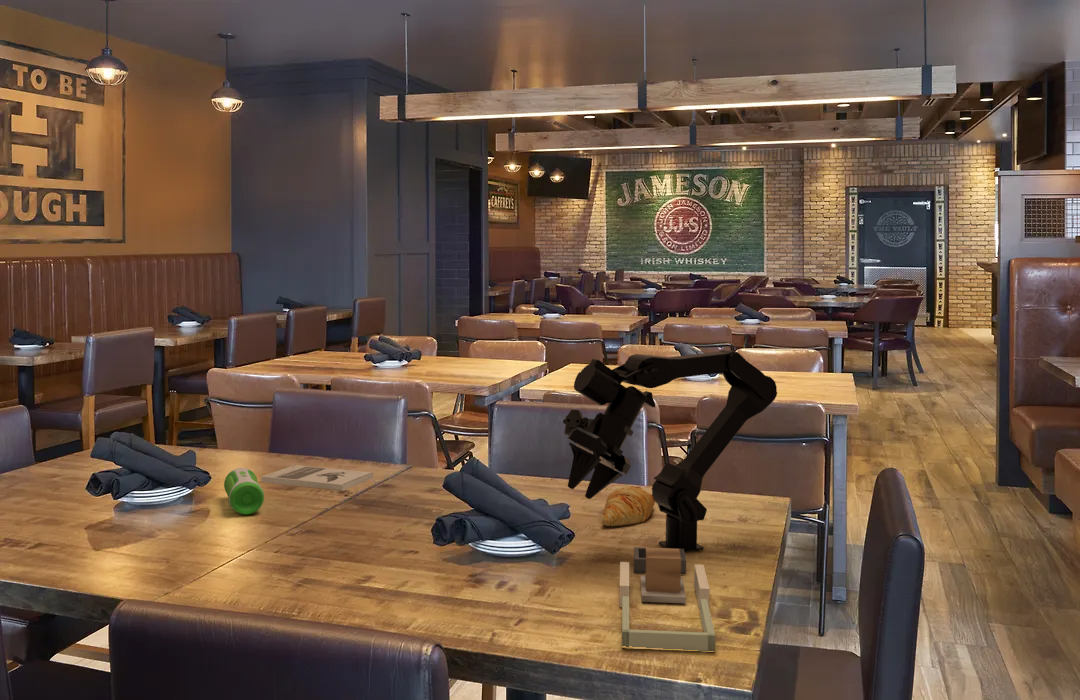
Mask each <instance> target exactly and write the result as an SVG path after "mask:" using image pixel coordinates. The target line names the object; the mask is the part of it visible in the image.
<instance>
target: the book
mask: <svg viewBox="0 0 1080 700" xmlns="http://www.w3.org/2000/svg"><path fill="white" fill-rule="evenodd" d="M371 478H373V479H374V472H369V471H358V470H350V469H348V470H347V469H340V468H339V469H338V468H330V467H329V468H328V467H321V466H320V467H319V466H308V465H307V466H306V465H297V464H295V465H291V466H287V467H286V468H285V467H284V468H282V469H280V470H279V469H278V470H276V471H273V472H270V473H267V474H264V475H261V477H260V480H261V481H260V482H261V483H265V484H267V483H268V484H276V485H284V486H285V485H286V486H294V487H304V488H313V489H322V490H323V489H324V490H332V491H343V492H344V491H345V490H348V489H350V487H351V488H353V487H355V485H356V486H358V485H360V484H359V483H361V484H363V483H365V482H364V481H366V482H368V481H370V480H369V479H371ZM367 480H368V481H367ZM371 480H372V479H371ZM362 482H363V483H362ZM357 484H358V485H357Z"/></svg>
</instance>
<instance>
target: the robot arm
mask: <svg viewBox="0 0 1080 700" xmlns="http://www.w3.org/2000/svg"><path fill="white" fill-rule="evenodd" d="M714 374H722V376H723V378H724V380H725V381H726V383H727V384H728V385H729V386H730V389H729V390H728V393H727V398H726V404H725V406H724V407H723V409H722V410H721V411H720V413H719V414H718V415H717V417H715V419H714V420H713V422H712V423H711V424H710V425H709V426H708V428H707V430H706V431H705V432H704V433H703V434H702V435H701V437H700V438H699V440H698V441H697V442H696V443H695V445H694V446H693V447H692V449H691V450H690V451H689V452H688V453H687V455H685V457H684V459H683V460H682V461H681V462H679V463H677V464H674V463H673V464H672V463H670V462H667V463H665V465H664V466H662V467H663V468H662V469H661V471H660V472H659V474H657V475H656V476H655V477H653V480H655V481H654V482H653V484H652V487H651V493H652V494H651V495H652V496H653V499H654V500H655V503H656V504H657V507H658V509H659V511H660V512H661V513H665V515H666V516H665V540H660V541H658V545H660V546H661V547H662V548H675V549H684V552H685V553H686V552H687V553H689V552H698V551H703V550H704V549H705V548H704V547H705V546H702V545H700V544H699V543H698V542H697V541H698V522H699V521H704V520H705V517H706V516H707V512H708V511H707V510H708V509H707V507H706V506H705V505H704V504H702V502H700V500H698V497H699V495H700V493H701V490H702V484H703V478H704V477H705V475H706V474H707V473H708V471H709V470H710V468H711V467H712V466H713V465H714V463H715V462H716V460H717V459H718V458H719V457H720V456H721V454H722V453H723V452H724V450H726V448H727V446H729V444H730V443H731V442H732V440H733V439H734V437H735V436H736V435H737V434H738V433H739V432H740V430H741V429H742V427H743V426H744V425H745V423H746V422H747V421H748V420H749V419H751V418H753V417H755V416H757V415H759V414H761V413H763V411H765V410H766V409H767V408H768V407H769V406H770V405H771V404H772V403H774V401H775V400H776V398H777V395H778V390H777V383H776V381H775V380H774V379H773V378H772V377H771V376H768V375H765V374H764V372H762V371H761V370H760V369H759V368H757V367H755V366H754V365H753V364H752V363H750V362H749V361H747V360H746V359H745V357H744V356H743V355H742V354H740V352H738V351H734V350H726V349H721V350H719V351H713V352H712V351H711V352H704V353H696V354H695V353H694V354H686V355H678V356H677V355H676V356H660V355H653V354H643V353H642V354H639V353H636V354H635V353H634V354H631V355H629V356H628V357H627V360H626V361H625V362H624V363H623V364H621V365H619V366H617V367H614V368H610V367H609V366H607V365H606V364H605V363H604V362H603V361H602V360H600V359H596V358H592V359H591V361H590V363H589V364H587V365H586V366H584V367H583V368H582V369H581V370H580V372H578V374H577V375H576V377H575V379H574V383H573V388H574V389H573V390H574V391H575V392H577V393H579V394H580V395H582V396H584V397H585V398H587V399H589V400H590V401H592V402H594V403H596V404H597V405H599V406H604V405H606V404H608V405H607V406H606V407H605V408H606V409H605V410H604V412H603V413H601V412H599V413H596V415H595V417H594V418H588V417H587V416H584V415H583V413H582V412H581V411H580V410H578V409H573V408H572V409H570V411H569V413H568V414H567V415H566V416H565V419H562V420H563V421H562V422H563V424H565V425H564V433H563V435H567V436H568V437H567V439H568V441H569V442H568V444H569V446H570V449H571V452H572V455H573V457H572V464H571V469H570V472H569V473H570V474H569V478H568V483H567V487H568V488H569V489H571V490H575V488H576V487H577V486H578V485H580V483H581V482H583V480H584V479H585V478H586V477H587V476H588V475H589V474H590V473H591V472H592V471H593V473H592V476H591V478H590V481H589V483H588V485H587V488H586V491H585V494H584V498H586V499H588V500H591V499H592V498H593V497H595V496H596V495H598V494H599V493H600V492H601V491H603V490H604V489H605V488H607V487H608V486H609V485H611V484H613V483H614V482H615V481H616V480H618V479H619V478H622V477H623V476H624V475H627V474H628V473H629V471H630V469H631V466H632V465H631V463H630V462H631V461H630V459H628V458H627V457H626V456H625V455H623V453H624V451H623V450H622V449H621V448H622V446H623V445H624V443H625V441H626V439H627V437H628V436H629V437H633V436H632V435H633V434H634V431H633V429H632V428H633V426H634V425H635V421H636V420H637V418H638V416H639V415H640V412H641V411H642V408H643V407H644V406H647V407H651V408H655V407H656V403H655V400H654V397H653V392H652V391H648V390H645V391H641V390H640V389H639V388H637V387H635V386H638V387H642V388H646V389H655V388H658V387H663V386H664V385H668V384H670V383H671V382H672V381H674V380H677V379H681V378H689V377H697V376H705V375H714ZM622 383H624V384H628V385H630V386H627V387H626V386H624V385H622ZM570 441H571V442H570Z"/></svg>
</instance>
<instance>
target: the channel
mask: <svg viewBox="0 0 1080 700" xmlns="http://www.w3.org/2000/svg"><path fill="white" fill-rule="evenodd" d="M693 569H694V571H693V572H694V574H693V575H694V576H693V586H695V587H694V591H696V592H695V596H696V595H697V596H696V601H697V600H698V601H697V606H698V605H699V606H698V610H699V609H700V599H707V602H708V606H709V607H710V585H709V581H708V577H707V573H706V569H705V566H704V564H694V568H693ZM623 596H629V597H630V561H628V562H627V561H620V563H619V606H622V601H623Z"/></svg>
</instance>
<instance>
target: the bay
mask: <svg viewBox="0 0 1080 700" xmlns="http://www.w3.org/2000/svg"><path fill="white" fill-rule="evenodd" d="M621 608H622V609H621V610H622V611H621V612H622V617H621V621H622V623H621V647H622V646H626V647H629V646H632V647H646V648H663V649H683V650H698V651H715V652H716V632H715V628H714V627H715V626H714V624H713V619H712V616H711V610H710V605H709V606H708V602H707V599H700V610H699V616H700V615H701V617H700V621H701V620H702V622H701V626H702V625H703V627H702V632H701V631H700V632H699V631H682V630H681V631H677V630H676V631H675V630H652V629H648V630H647V629H631V628H630V595H629V596H623V601H622V607H621ZM703 630H704V632H703Z"/></svg>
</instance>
